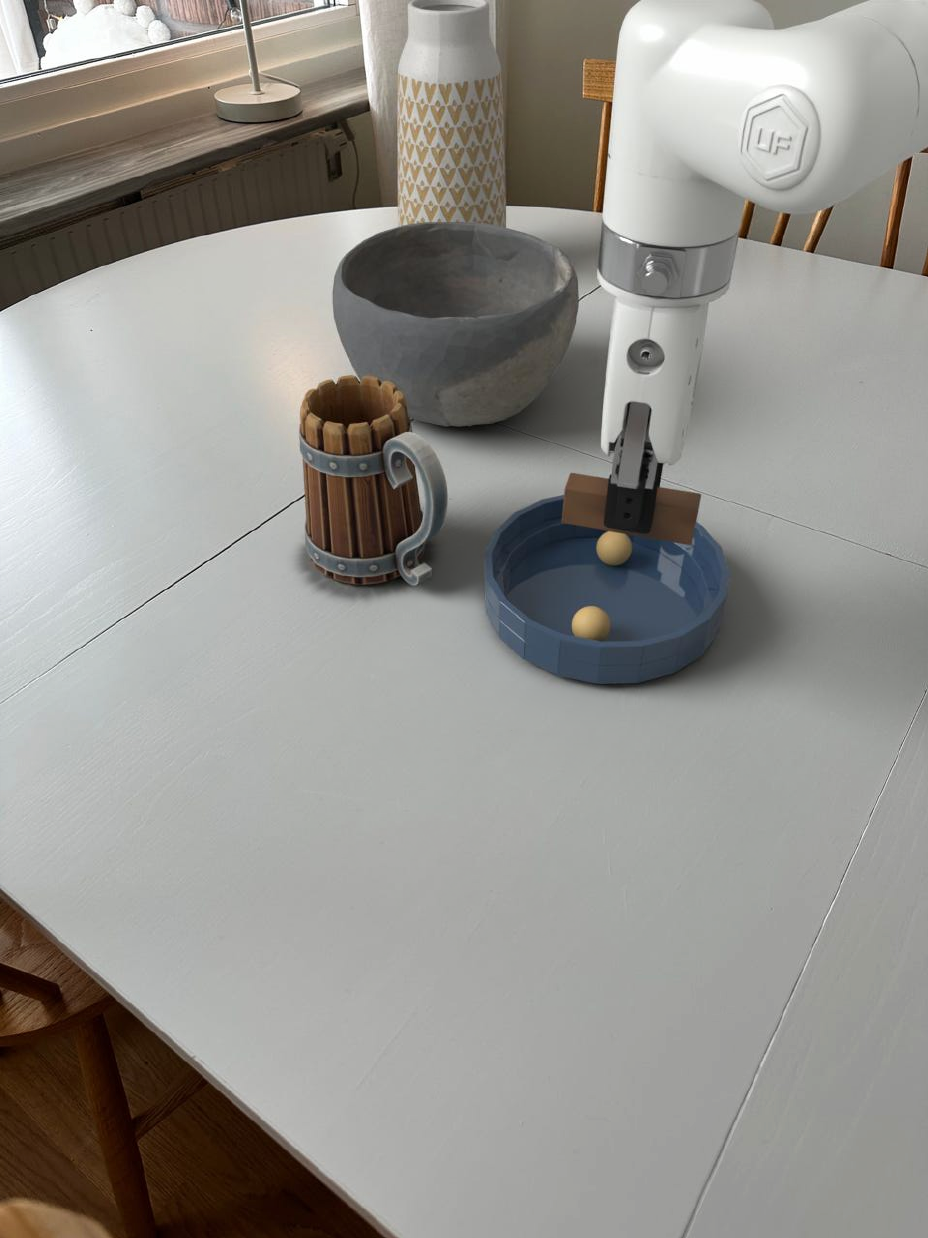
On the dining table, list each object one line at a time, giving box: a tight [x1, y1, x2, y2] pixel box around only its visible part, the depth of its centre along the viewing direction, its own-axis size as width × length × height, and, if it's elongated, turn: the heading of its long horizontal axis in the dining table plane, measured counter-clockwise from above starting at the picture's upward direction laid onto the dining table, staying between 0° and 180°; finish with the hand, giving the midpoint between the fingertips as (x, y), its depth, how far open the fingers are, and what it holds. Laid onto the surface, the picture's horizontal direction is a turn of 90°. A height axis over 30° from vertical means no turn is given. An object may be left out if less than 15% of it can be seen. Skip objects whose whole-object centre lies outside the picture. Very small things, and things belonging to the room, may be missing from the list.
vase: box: [396, 0, 507, 228], centre depth 118 cm, size 14×14×31 cm
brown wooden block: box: [562, 472, 702, 545], centre depth 67 cm, size 9×2×3 cm, turn 74°
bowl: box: [332, 222, 580, 428], centre depth 100 cm, size 24×24×15 cm
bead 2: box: [596, 531, 632, 566], centre depth 83 cm, size 3×3×3 cm
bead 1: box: [572, 606, 611, 642], centre depth 76 cm, size 3×3×3 cm
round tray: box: [483, 494, 731, 685], centre depth 79 cm, size 19×19×4 cm
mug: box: [298, 374, 449, 586], centre depth 80 cm, size 16×11×15 cm
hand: (630, 514), depth 67 cm, fingers closed on brown wooden block, 2 cm apart
